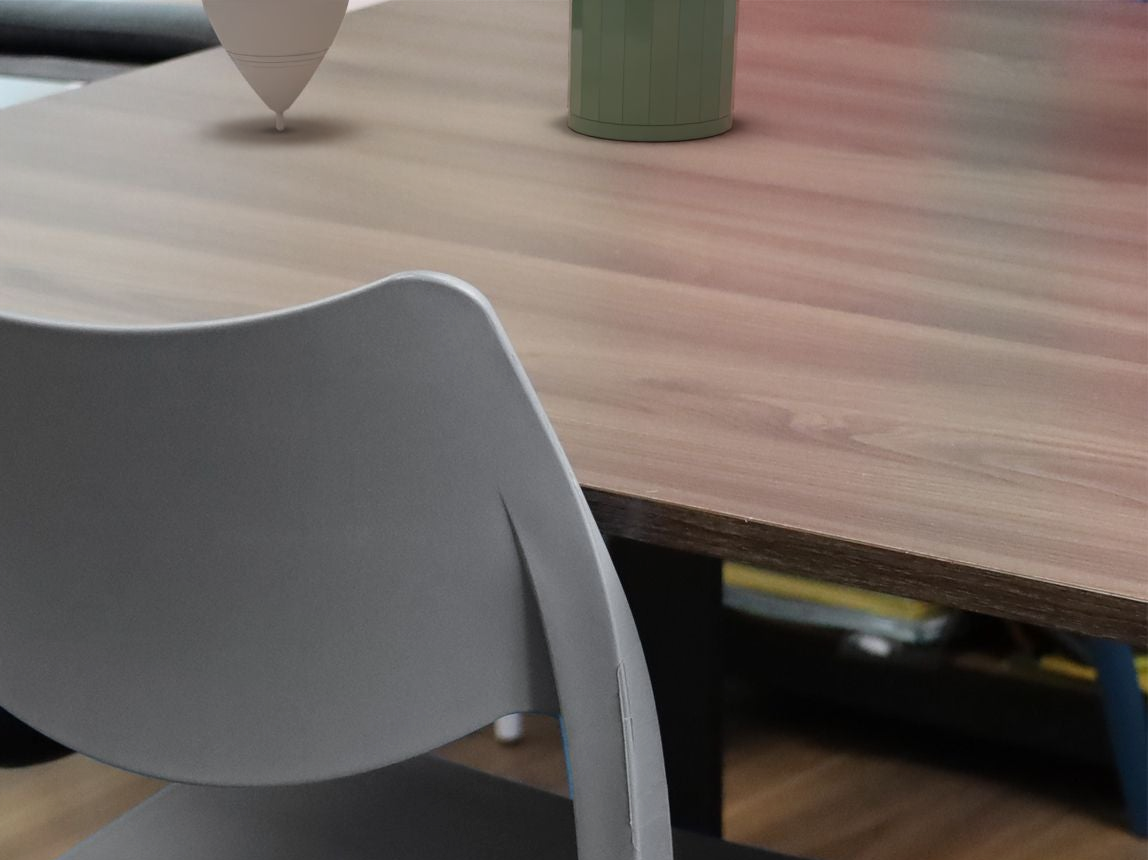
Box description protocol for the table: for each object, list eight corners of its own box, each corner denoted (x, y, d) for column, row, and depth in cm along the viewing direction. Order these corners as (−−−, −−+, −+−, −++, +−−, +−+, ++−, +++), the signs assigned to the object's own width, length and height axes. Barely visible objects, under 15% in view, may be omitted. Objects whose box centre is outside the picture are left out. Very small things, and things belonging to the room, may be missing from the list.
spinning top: (197, 119, 125) (186, -118, 120) (338, 112, 127) (332, -123, 121) (218, 149, 119) (206, -101, 113) (366, 141, 120) (361, -107, 115)
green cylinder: (760, 118, 124) (772, -102, 119) (685, 148, 117) (694, -83, 113) (617, 102, 128) (623, -110, 123) (537, 130, 122) (540, -93, 117)
